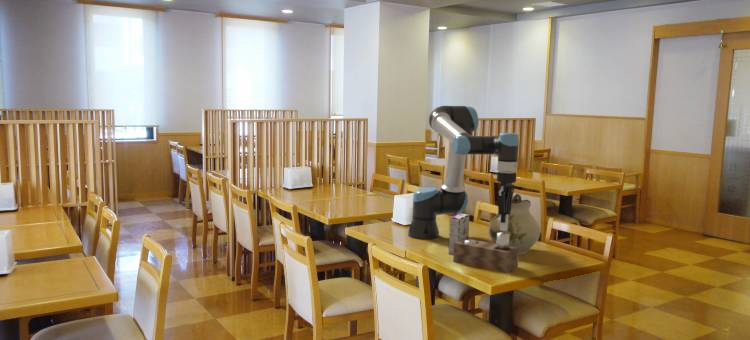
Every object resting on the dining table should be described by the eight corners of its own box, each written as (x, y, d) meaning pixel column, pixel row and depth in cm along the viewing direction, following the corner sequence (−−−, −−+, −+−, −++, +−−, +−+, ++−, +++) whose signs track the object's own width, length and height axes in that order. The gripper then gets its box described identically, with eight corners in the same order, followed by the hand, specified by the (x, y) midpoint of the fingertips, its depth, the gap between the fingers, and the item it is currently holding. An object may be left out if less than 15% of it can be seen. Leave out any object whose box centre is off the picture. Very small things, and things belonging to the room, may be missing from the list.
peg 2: (494, 252, 230) (495, 233, 229) (498, 249, 234) (499, 231, 233) (505, 254, 227) (506, 235, 226) (510, 251, 231) (511, 233, 230)
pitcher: (506, 259, 242) (510, 201, 239) (476, 246, 264) (479, 192, 261) (549, 256, 251) (553, 200, 248) (516, 243, 272) (520, 191, 270)
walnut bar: (453, 261, 237) (454, 242, 236) (463, 256, 246) (464, 238, 245) (508, 272, 224) (509, 252, 223) (517, 266, 232) (518, 247, 231)
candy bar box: (458, 248, 259) (459, 213, 257) (468, 250, 256) (470, 214, 254) (447, 253, 249) (449, 217, 247) (458, 255, 247) (460, 218, 244)
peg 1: (461, 258, 238) (462, 241, 237) (466, 256, 242) (467, 238, 241) (472, 260, 235) (473, 243, 234) (477, 258, 239) (478, 240, 238)
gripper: (510, 174, 219) (506, 234, 222) (521, 171, 230) (518, 228, 232) (491, 172, 223) (488, 231, 226) (504, 169, 234) (500, 226, 237)
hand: (503, 230), depth 229 cm, fingers closed
